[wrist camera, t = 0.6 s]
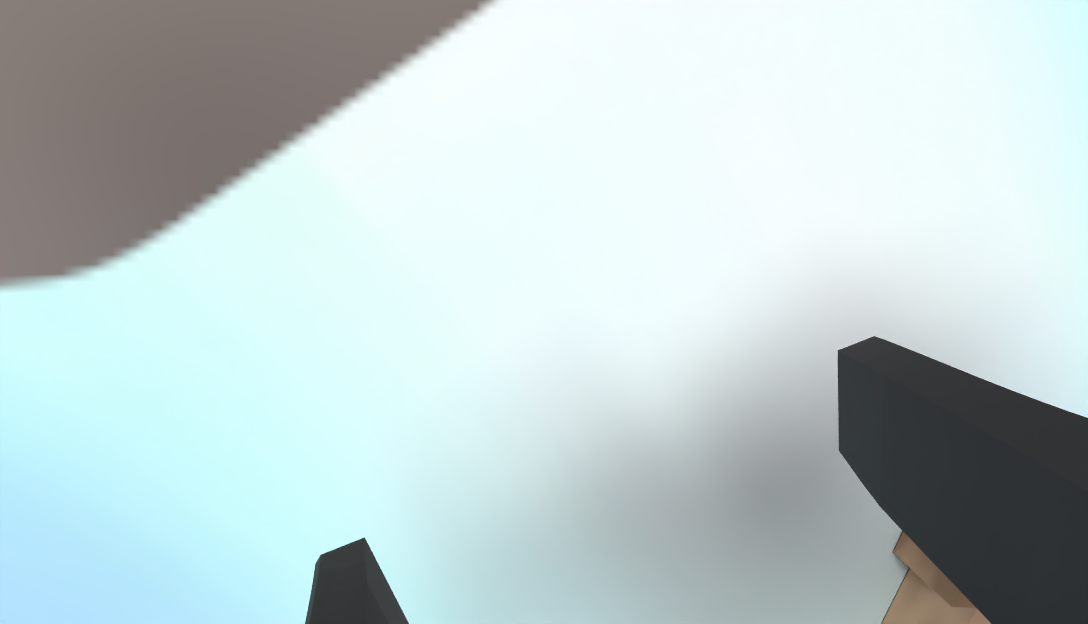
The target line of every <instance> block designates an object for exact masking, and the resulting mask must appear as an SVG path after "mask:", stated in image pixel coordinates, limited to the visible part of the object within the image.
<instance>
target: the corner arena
mask: <svg viewBox="0 0 1088 624" xmlns="http://www.w3.org/2000/svg"><path fill="white" fill-rule="evenodd" d="M893 553H894V554H895V555H896V556H897V557H898V558H899V559H900V560H901V561H903V562H904V563H905V564H906V565H907V566H908V567H909V568H910V569H909V571H908V573H907V575H906V577H905V579H904V581H903V583H902V584H901V586H900V588H899V590H898V592H897V594H896V596H895V598H894V600H893V602H892V604H891V606H890V608H889V610H888V612H887V614H886V616H885V618H884V620H883V622H882V624H991V623H990V622H989V621H988V620H987V619H986V618H985V617H984V615H983V614H982V613H981V612H980V611H979V610H978V609H977V608H976V607H975V606H974V605H973V604H972V603H971V602H970V601H969V600H968V599H967V598H966V597H965V596H964V595H963V594H962V592H961V591H960V590H959V589H958V588H957V587H956V586H955V585H954V584H953V583H952V582H951V581H950V580H949V579H948V578H947V577H946V576H945V575H944V574H943V573H942V572H941V571H940V569H939V568H938V567H937V566H936V565H935V564H934V563H933V562H932V561H931V560H930V559H929V558H928V557H927V556H926V555H925V554H924V553H923V552H922V551H921V550H920V549H919V548H918V546H917V545H916V544H915V543H914V542H913V541H912V540H911V539H910V538H909V537H908V536H907V535H906V534H905V533H904V532H903V533H902V535H901V537H900V539H899V541H898V543H897V545H896V547H895V549H894V551H893Z"/></svg>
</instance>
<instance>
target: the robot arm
mask: <svg viewBox="0 0 1088 624" xmlns="http://www.w3.org/2000/svg"><path fill="white" fill-rule="evenodd" d="M838 411H839V451H840V453H841V454H842V455H843V457H844V458H845V460H846V461H847V462H848V464H849V465H850V467H851V468H852V469H853V471H854V472H855V474H856V475H857V476H858V478H859V479H860V481H861V482H862V483H863V485H864V486H865V487H866V489H867V490H868V491H869V493H870V494H871V495H872V496H873V498H874V499H875V500H876V502H877V503H878V504H879V506H880V507H881V508H882V509H883V510H884V511H885V512H886V513H887V514H888V516H889V517H890V518H891V519H892V520H893V521H894V522H895V523H896V524H897V525H898V526H899V527H900V528H901V529H902V531H903V532H904V533H905V534H906V535H907V536H908V537H909V538H910V539H911V540H912V541H913V542H914V543H915V544H916V545H917V546H918V548H919V549H920V550H921V551H922V552H923V553H924V554H925V555H926V556H927V557H928V558H929V559H930V560H931V561H932V562H933V563H934V564H935V565H936V566H937V567H938V568H939V569H940V571H941V572H942V573H943V574H944V575H945V576H946V577H947V578H948V579H949V580H950V581H951V582H952V583H953V584H954V585H955V586H956V587H957V588H958V589H959V590H960V591H961V592H962V594H963V595H964V596H965V597H966V598H967V599H968V600H969V601H970V602H971V603H972V604H973V605H974V606H975V607H976V608H977V609H978V610H979V611H980V612H981V613H982V614H983V615H984V617H985V618H986V619H987V620H988V621H989V622H990V623H991V624H1088V418H1086V417H1083V416H1080V415H1077V414H1074V413H1071V412H1068V411H1066V410H1063V409H1060V408H1057V407H1054V406H1052V405H1049V404H1046V403H1043V402H1041V401H1038V400H1035V399H1033V398H1030V397H1027V396H1025V395H1022V394H1019V393H1017V392H1014V391H1012V390H1009V389H1006V388H1004V387H1001V386H999V385H996V384H993V383H991V382H988V381H986V380H983V379H981V378H978V377H976V376H973V375H971V374H968V373H966V372H963V371H961V370H958V369H956V368H954V367H951V366H949V365H946V364H944V363H941V362H939V361H936V360H934V359H931V358H929V357H926V356H924V355H921V354H919V353H917V352H914V351H912V350H909V349H907V348H904V347H902V346H899V345H896V344H894V343H891V342H889V341H886V340H883V339H880V338H878V337H875V336H874V337H871V338H869V339H866V340H863V341H861V342H858V343H856V344H853V345H851V346H848V347H846V348H843V349H841V350H838ZM305 624H409V623H408V621H407V619H406V617H405V615H404V613H403V611H402V609H401V608H400V606H399V604H398V602H397V600H396V598H395V596H394V594H393V592H392V590H391V588H390V586H389V584H388V582H387V580H386V578H385V576H384V574H383V572H382V571H381V569H380V567H379V565H378V563H377V561H376V559H375V557H374V555H373V553H372V551H371V549H370V547H369V545H368V543H367V541H366V539H365V538H362V539H360V540H357V541H355V542H352V543H350V544H347V545H345V546H342V547H340V548H337V549H334V550H332V551H329V552H327V553H324V554H322V555H320V557H319V559H318V561H317V562H316V565H315V571H314V578H313V584H312V590H311V596H310V601H309V607H308V612H307V617H306V622H305Z"/></svg>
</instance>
